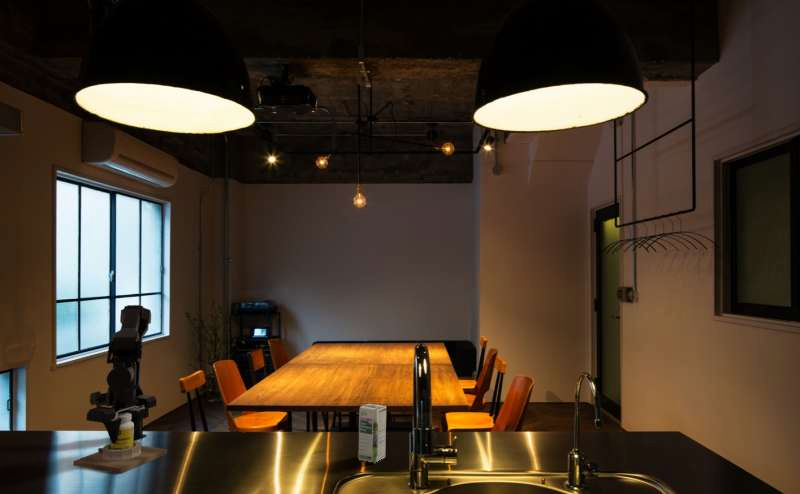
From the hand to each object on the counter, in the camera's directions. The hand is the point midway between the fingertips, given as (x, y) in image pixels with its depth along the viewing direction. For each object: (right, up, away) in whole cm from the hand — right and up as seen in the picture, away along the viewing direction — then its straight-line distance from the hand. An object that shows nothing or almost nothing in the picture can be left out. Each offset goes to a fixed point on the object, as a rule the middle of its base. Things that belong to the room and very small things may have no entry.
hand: (122, 439), depth 149 cm
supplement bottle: (0, -3, 0) cm, 3 cm away
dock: (0, -5, 0) cm, 5 cm away
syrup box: (+68, -7, +3) cm, 68 cm away
